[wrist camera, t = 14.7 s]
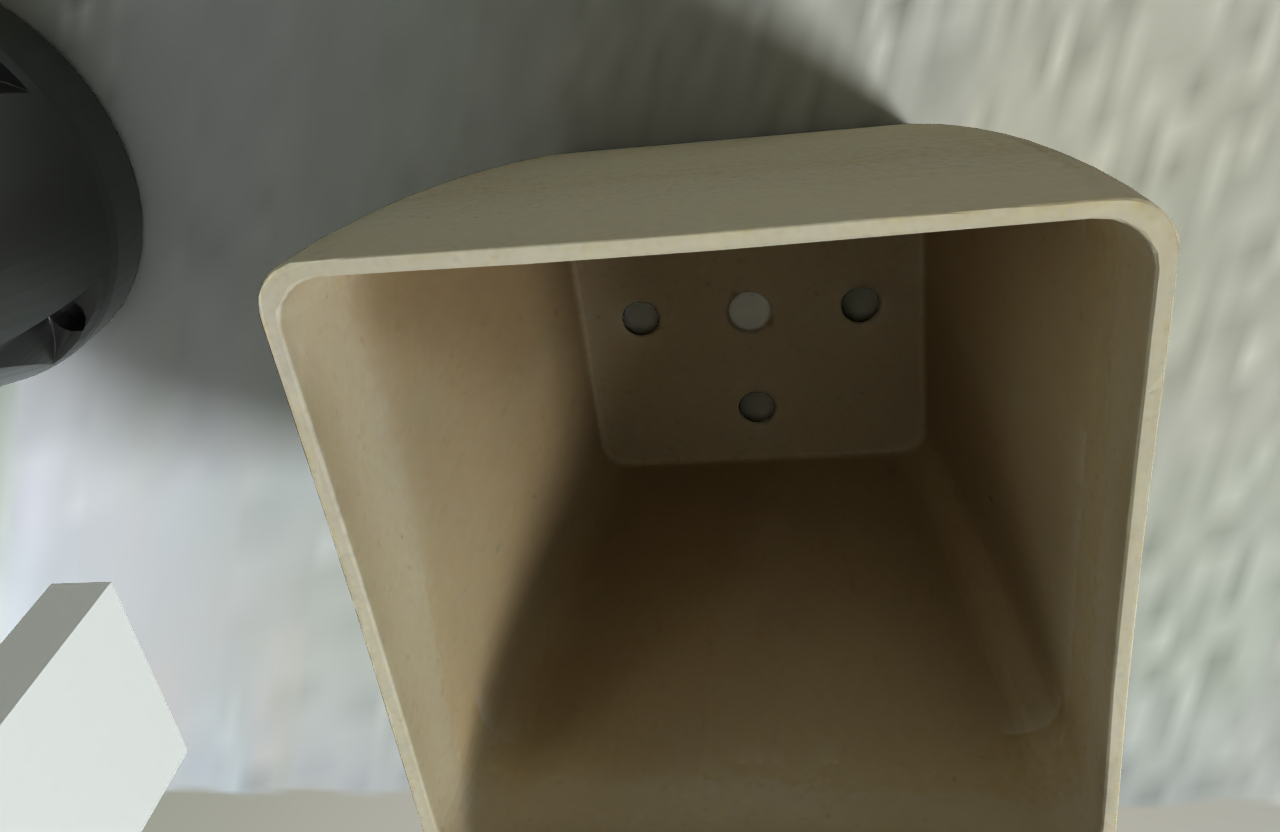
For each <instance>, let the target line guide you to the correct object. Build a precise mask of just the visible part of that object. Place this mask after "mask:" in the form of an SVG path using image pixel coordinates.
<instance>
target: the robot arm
mask: <svg viewBox="0 0 1280 832" xmlns="http://www.w3.org/2000/svg"><path fill="white" fill-rule="evenodd" d="M141 244H142V217H141V207H140V201H139V195H138V190H137V186H136V182H135V178H134V175H133V172H132V168H131V165H130V162H129V160H128V157H127V155H126V152H125V149H124V147H123V145H122V143H121V140H120V138H119V136H118V134H117V132H116V130H115V128H114V126H113V124H112V123H111V121H110V119H109V117H108V115H107V114H106V112H105V111H104V109H103V107H102V106H101V104H100V103H99V101H98V100H97V98H96V97H95V95H94V94H93V93H92V91H91V90H90V88H89V87H88V86H87V84H86V83H85V82H84V80H83V79H82V78H81V77H80V75H79V74H78V73H77V72H76V71H75V69H74V68H73V67H72V66H71V65H70V64H69V63H68V62H67V61H66V59H65V58H64V57H63V56H62V55H61V54H60V53H59V52H58V51H57V50H56V49H55V48H54V47H53V46H52V45H51V44H50V43H49V42H47V41H46V40H45V39H44V38H43V37H42V36H41V35H40V34H38V33H37V32H36V31H35V30H34V29H32V28H31V27H30V26H29V25H27V24H26V23H25V22H24V21H22V20H21V19H20V18H18V17H17V16H15V15H14V14H13V13H11V12H10V11H8V10H7V9H5V8H4V7H2V6H1V5H0V386H2V385H6V384H9V383H12V382H16V381H19V380H22V379H26V378H29V377H31V376H34V375H37V374H39V373H41V372H43V371H45V370H48V369H49V368H51V367H53V366H55V365H57V364H58V363H60V362H62V361H63V360H65V359H66V358H68V357H69V356H70V355H72V354H73V353H74V352H76V351H77V350H78V349H79V348H80V347H81V346H82V345H84V344H85V343H86V342H87V341H88V340H89V339H90V338H91V337H92V336H94V335H95V334H96V333H97V332H98V331H99V330H100V329H101V328H102V327H104V326H105V325H106V324H107V323H108V322H109V321H110V319H111V318H112V317H113V316H114V315H115V314H116V312H117V311H118V310H119V308H120V307H121V305H122V304H123V302H124V300H125V299H126V297H127V295H128V293H129V291H130V289H131V286H132V284H133V281H134V278H135V275H136V272H137V268H138V264H139V260H140V253H141ZM187 752H188V750H187V748H186V745H185V743H184V741H183V739H182V737H181V734H180V732H179V730H178V728H177V726H176V723H175V721H174V719H173V717H172V715H171V712H170V710H169V708H168V706H167V704H166V701H165V699H164V697H163V695H162V693H161V690H160V688H159V686H158V684H157V682H156V679H155V677H154V675H153V673H152V670H151V668H150V666H149V664H148V662H147V659H146V657H145V655H144V653H143V651H142V648H141V646H140V644H139V642H138V640H137V637H136V635H135V633H134V631H133V629H132V626H131V624H130V622H129V620H128V618H127V615H126V613H125V611H124V609H123V607H122V604H121V602H120V600H119V598H118V595H117V593H116V591H115V589H114V587H113V584H112V582H92V583H62V584H51V585H50V586H49V587H48V589H47V590H46V591H45V592H44V593H43V594H42V596H41V597H40V598H39V599H38V600H37V602H36V603H35V604H34V605H33V606H32V608H31V609H30V610H29V611H28V612H27V613H26V615H25V616H24V617H23V618H22V619H21V621H20V622H19V623H18V624H17V625H16V627H15V628H14V629H13V630H12V631H11V632H10V634H9V635H8V636H7V637H6V638H5V640H4V641H3V642H2V643H1V644H0V832H142V830H143V828H144V826H145V824H146V823H147V821H148V819H149V818H150V816H151V814H152V812H153V811H154V809H155V807H156V805H157V803H158V802H159V800H160V799H161V797H162V795H163V793H164V792H165V790H166V788H167V786H168V785H169V783H170V781H171V779H172V778H173V776H174V774H175V772H176V771H177V769H178V767H179V766H180V764H181V762H182V760H183V759H184V757H185V755H186V753H187Z"/></svg>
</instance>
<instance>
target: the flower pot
mask: <svg viewBox="0 0 1280 832" xmlns="http://www.w3.org/2000/svg"><path fill="white" fill-rule="evenodd" d="M1179 252H1180V245H1179V237H1178V231H1177V229H1176V227H1175V225H1174V223H1173V221H1172V219H1171V218H1170V217H1169V216H1168V215H1167V214H1166V213H1165V212H1164V211H1163V210H1162V209H1161V208H1159V207H1158V206H1157V205H1155V204H1154V203H1153V202H1151V201H1150V200H1149V199H1147V198H1146V197H1144V196H1143V195H1141V194H1140V193H1138V192H1137V191H1135V190H1134V189H1132V188H1131V187H1129V186H1127V185H1126V184H1124V183H1122V182H1120V181H1118V180H1117V179H1115V178H1113V177H1111V176H1109V175H1108V174H1106V173H1104V172H1102V171H1100V170H1099V169H1097V168H1095V167H1093V166H1090V165H1088V164H1086V163H1084V162H1082V161H1080V160H1077V159H1075V158H1073V157H1071V156H1069V155H1066V154H1064V153H1061V152H1059V151H1056V150H1054V149H1051V148H1048V147H1045V146H1042V145H1040V144H1037V143H1034V142H1031V141H1029V140H1025V139H1022V138H1018V137H1014V136H1011V135H1007V134H1003V133H998V132H993V131H988V130H983V129H978V128H971V127H963V126H954V125H944V124H898V125H887V126H877V127H865V128H853V129H842V130H830V131H818V132H806V133H795V134H784V135H772V136H761V137H749V138H738V139H726V140H715V141H704V142H692V143H680V144H669V145H657V146H645V147H633V148H622V149H610V150H598V151H586V152H575V153H565V154H555V155H548V156H543V157H539V158H534V159H529V160H524V161H520V162H516V163H512V164H507V165H503V166H499V167H496V168H492V169H488V170H485V171H481V172H477V173H474V174H470V175H467V176H463V177H460V178H457V179H454V180H451V181H448V182H445V183H442V184H439V185H436V186H434V187H431V188H428V189H426V190H423V191H420V192H418V193H415V194H413V195H410V196H407V197H405V198H403V199H400V200H398V201H396V202H394V203H392V204H389V205H387V206H385V207H383V208H381V209H378V210H376V211H374V212H372V213H370V214H368V215H366V216H364V217H362V218H360V219H358V220H356V221H354V222H352V223H350V224H348V225H346V226H344V227H342V228H340V229H338V230H336V231H334V232H332V233H330V234H328V235H326V236H324V237H322V238H320V239H319V240H317V241H316V242H314V243H313V244H311V245H309V246H308V247H306V248H305V249H303V250H302V251H300V252H298V253H297V254H295V255H294V256H292V257H290V258H289V259H287V260H286V261H284V262H283V263H281V264H279V265H278V266H276V267H275V268H274V269H273V270H272V271H270V272H269V273H268V274H267V276H266V277H265V279H264V280H263V282H262V284H261V288H260V291H259V295H258V308H259V313H260V318H261V322H262V325H263V328H264V331H265V334H266V337H267V340H268V343H269V346H270V349H271V352H272V355H273V358H274V361H275V364H276V367H277V370H278V373H279V376H280V379H281V382H282V385H283V388H284V391H285V394H286V397H287V400H288V403H289V406H290V409H291V412H292V415H293V418H294V421H295V424H296V427H297V431H298V434H299V437H300V440H301V443H302V446H303V449H304V452H305V455H306V458H307V461H308V464H309V467H310V470H311V473H312V476H313V479H314V483H315V486H316V489H317V492H318V495H319V498H320V501H321V504H322V507H323V510H324V513H325V516H326V519H327V522H328V525H329V529H330V532H331V535H332V538H333V541H334V544H335V547H336V550H337V553H338V556H339V560H340V563H341V566H342V569H343V572H344V575H345V579H346V582H347V585H348V588H349V591H350V594H351V597H352V600H353V603H354V606H355V610H356V613H357V616H358V619H359V622H360V626H361V629H362V632H363V635H364V639H365V642H366V645H367V648H368V652H369V655H370V658H371V661H372V665H373V668H374V671H375V674H376V678H377V681H378V684H379V687H380V691H381V694H382V697H383V700H384V704H385V707H386V710H387V713H388V717H389V720H390V723H391V726H392V730H393V733H394V736H395V739H396V743H397V746H398V749H399V752H400V756H401V759H402V762H403V766H404V769H405V772H406V775H407V779H408V782H409V785H410V789H411V792H412V795H413V798H414V802H415V805H416V808H417V812H418V815H419V819H420V822H421V825H422V828H423V832H1116V824H1117V812H1118V802H1119V790H1120V777H1121V765H1122V752H1123V740H1124V728H1125V717H1126V707H1127V696H1128V685H1129V675H1130V665H1131V656H1132V647H1133V637H1134V627H1135V618H1136V608H1137V598H1138V589H1139V580H1140V570H1141V561H1142V551H1143V542H1144V534H1145V526H1146V518H1147V510H1148V501H1149V493H1150V485H1151V477H1152V469H1153V461H1154V453H1155V445H1156V437H1157V429H1158V421H1159V413H1160V405H1161V397H1162V389H1163V382H1164V374H1165V367H1166V360H1167V352H1168V344H1169V336H1170V327H1171V319H1172V311H1173V303H1174V294H1175V285H1176V276H1177V268H1178V259H1179ZM859 287H862V288H869V289H871V290H873V291H874V292H876V293H877V296H878V298H879V309H878V311H877V313H876V314H875V315H874V316H873V317H872V318H871V319H869V320H867V321H864V322H855V321H852V320H850V319H849V318H847V317H846V316H845V315H844V314H843V313H842V307H841V305H842V300H843V297H844V296H845V295H846V293H848V292H849V291H851V290H852V289H855V288H859ZM635 302H646V303H649V304H651V305H652V306H654V307H655V309H656V311H657V313H658V314H659V324H658V326H657V328H656V329H655V330H654V331H652V332H651V333H648V334H646V335H637V334H634V333H632V332H630V331H629V330H627V329H626V327H625V325H624V323H623V319H622V318H623V312H624V310H625V309H626V308H627V307H628V306H629V305H630V304H632V303H635ZM755 391H757V392H763V393H766V394H768V395H769V396H770V397H771V398H772V399H773V400H774V403H775V410H774V413H773V415H772V416H771V417H770V418H768V419H767V420H765V421H762V422H752V421H750V420H748V419H746V418H745V417H743V415H742V414H741V412H740V410H739V402H740V400H741V399H742V398H743V397H744V396H745V395H747V394H748V393H752V392H755Z"/></svg>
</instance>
